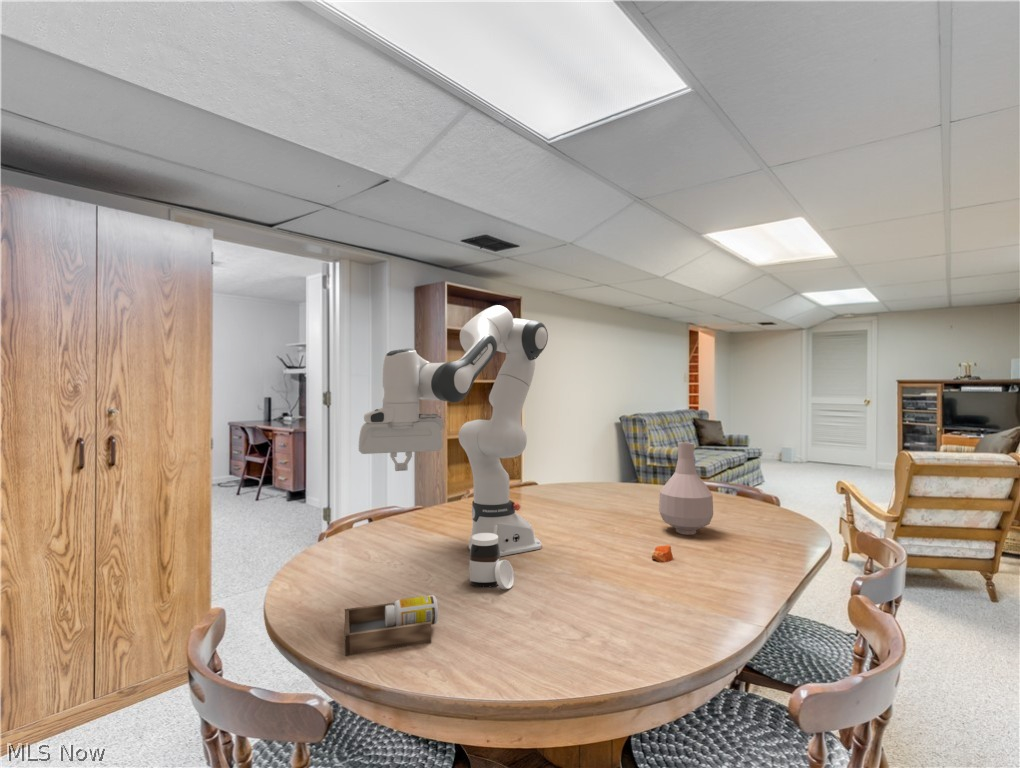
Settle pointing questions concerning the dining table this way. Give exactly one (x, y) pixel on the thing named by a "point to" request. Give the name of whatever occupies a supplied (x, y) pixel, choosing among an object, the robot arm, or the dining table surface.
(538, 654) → the dining table surface
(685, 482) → the vase
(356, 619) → the tray
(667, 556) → the rock
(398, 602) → the supplement bottle
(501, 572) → the spread jar
